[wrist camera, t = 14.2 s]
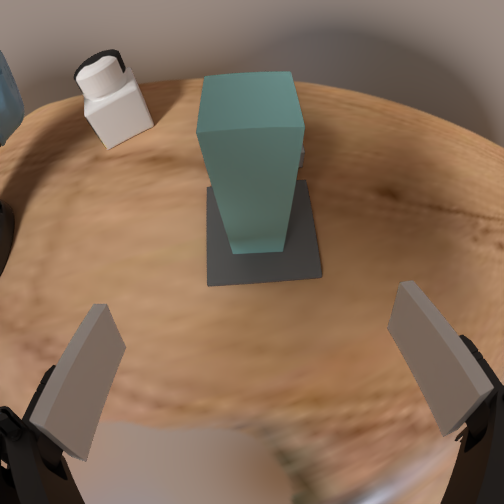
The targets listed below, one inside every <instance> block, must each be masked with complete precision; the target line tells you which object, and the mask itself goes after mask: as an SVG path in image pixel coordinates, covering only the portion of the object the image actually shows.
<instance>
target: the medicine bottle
mask: <svg viewBox="0 0 504 504" xmlns="http://www.w3.org/2000/svg"><path fill="white" fill-rule="evenodd" d="M74 80H75V81H76V83H77V85H78V87H79V88H80V90H81V92H82V94H83V95H84V116H85V118H86V119H87V121H88V122H89V124H90V125H91V127H92V128H93V130H94V131H95V133H96V134H97V136H98V137H99V139H100V140H101V142H102V143H103V145H104V146H105V148H106V149H107V150H109V149H111V148H113V147H115V146H117V145H118V144H120V143H122V142H124V141H126V140H128V139H130V138H132V137H133V136H135V135H137V134H139V133H141V132H143V131H145V130H147V129H150V128H152V127H153V126H154V123H153V120H152V118H151V115H150V113H149V110H148V108H147V105H146V103H145V100H144V98H143V95H142V93H141V91H140V88H139V86H138V83H137V81H136V79H135V76H134V74H133V71H132V69H131V68H130V67H128V68H126V67H125V65H124V63H123V60H122V58H121V55H120V53H119V51H117V50H113V49H112V50H106V51H102V52H99V53H97V54H95V55H93V56H91V57H90V58H88V59H87V60H86V61H84V62H83V63H82V64H81V65H80V66H79V68H78V69H77V70H76V72H75V74H74Z"/></svg>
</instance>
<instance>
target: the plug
mask: <svg viewBox="0 0 504 504" xmlns="http://www.w3.org/2000/svg"><path fill="white" fill-rule="evenodd" d="M304 130H305V125H304V121H303V116H302V112H301V108H300V104H299V100H298V97H297V93H296V89H295V85H294V82H293V78H292V75H291V72H247V73H232V74H221V75H212V76H205V77H204V82H203V88H202V94H201V101H200V108H199V115H198V122H197V130H196V134H197V138H198V141H199V144H200V148H201V151H202V155H203V158H204V161H205V165H206V168H207V171H208V175H209V178H210V181H211V185H212V188H213V191H214V195H215V198H216V201H217V204H218V208H219V211H220V214H221V217H222V221H223V224H224V227H225V230H226V233H227V237H228V240H229V243H230V246H231V249H232V252H233V254H246V253H266V252H283V248H284V243H285V238H286V233H287V227H288V222H289V217H290V212H291V206H292V201H293V195H294V190H295V184H296V178H297V173H298V167H299V161H300V155H301V149H302V143H303V137H304Z"/></svg>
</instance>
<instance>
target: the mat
mask: <svg viewBox="0 0 504 504" xmlns="http://www.w3.org/2000/svg"><path fill="white" fill-rule="evenodd" d="M321 277H322V271H321V264H320V257H319V251H318V244H317V238H316V232H315V226H314V220H313V214H312V209H311V203H310V198H309V193H308V188H307V183H306V180H296V184H295V190H294V195H293V201H292V206H291V212H290V217H289V222H288V227H287V233H286V238H285V243H284V248H283V252H266V253H246V254H233V252H232V249H231V246H230V243H229V240H228V237H227V233H226V230H225V227H224V224H223V221H222V217H221V214H220V211H219V208H218V204H217V201H216V198H215V195H214V191H213V188H212V187H207V285H208V287H209V286H225V285H239V284H253V283H266V282H279V281H291V280H302V279H313V278H321Z"/></svg>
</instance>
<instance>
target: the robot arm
mask: <svg viewBox="0 0 504 504" xmlns="http://www.w3.org/2000/svg"><path fill="white" fill-rule="evenodd" d="M23 118H24V105H23V101H22V98H21V95H20V93H19V90H18V87H17V85H16V82H15V80H14V77H13V75H12V73H11V70H10V68H9V66H8V63H7V61H6V59H5V57H4V55H3V53H2V52H1V51H0V147H1V146H4V145H5V143H6V140H7V139H8V138H9V137H10V136H11V135H12V134H13V132H14V131H15V130H16V129H17V128H18V127H19V126H20V124H21V123H22V121H23ZM13 230H14V216H13V211H12V209H11V207H10V206H9V205H8V204H7V203H5V202H4V201H3V200H1V199H0V274H1V272H2V270H3V268H4V265H5V263H6V260H7V257H8V254H9V251H10V247H11V242H12V237H13ZM387 329H388V330H389V332H390V334H391V336H392V337H393V339H394V341H395V343H396V344H397V346H398V348H399V350H400V351H401V353H402V355H403V357H404V359H405V360H406V362H407V364H408V366H409V368H410V370H411V372H412V373H413V375H414V377H415V379H416V381H417V383H418V385H419V387H420V389H421V391H422V393H423V395H424V397H425V399H426V401H427V403H428V405H429V407H430V409H431V411H432V413H433V416H434V418H435V420H436V422H437V424H438V426H439V429H440V431H441V433H442V435H443V437H444V436H446V435H448V434H450V433H452V432H454V431H456V430H458V429H459V428H460V426H461V425H462V424H463V423H464V422H466V424H467V427H466V428H465V429H464V430H463V431H462V432H461V433H460V434H459V435H458V436H457V437H456V439H455V441H458V440H459V439H460V438H461V437H462V436H463V437H462V439H461V440H460V442H461V445H460V449H459V453H458V456H457V459H456V463H455V466H454V469H453V472H452V475H451V478H450V481H449V484H448V486H447V489H446V491H445V494H444V496H443V499H442V501H441V504H504V386H503V385H502V383H501V382H500V381H499V379H498V378H497V376H496V375H495V373H494V372H493V370H492V369H491V367H490V366H489V364H488V363H487V361H486V360H485V359H483V356H482V354H481V353H480V352H478V349H477V348H476V346H475V345H474V344H473V342H472V341H471V340H469V339H468V338H467V337H465V336H464V335H460V336H458V335H457V333H456V332H455V331H454V329H453V328H452V327H451V325H450V324H449V323H448V322H447V320H446V319H445V318H444V317H443V315H442V314H441V313H440V312H439V310H438V309H437V308H436V307H435V305H434V304H433V303H432V302H431V301H430V300H429V298H428V297H427V296H426V295H425V294H424V292H423V291H422V290H421V289H420V288H419V287H418V286H417V284H416V283H415V282H414V281H413V280H411V281H404V282H400V283H399V287H398V291H397V295H396V299H395V303H394V306H393V310H392V314H391V317H390V320H389V324H388V327H387ZM125 349H126V346H125V344H124V342H123V340H122V337H121V335H120V333H119V331H118V329H117V327H116V324H115V322H114V320H113V317H112V315H111V313H110V310H109V308H108V305H107V304H93V306H92V307H91V309H90V310H89V312H88V314H87V315H86V317H85V318H84V320H83V321H82V323H81V325H80V326H79V328H78V329H77V331H76V333H75V334H74V336H73V337H72V339H71V341H70V343H69V344H68V346H67V348H66V349H65V351H64V353H63V355H62V356H61V358H60V360H59V362H58V363H57V365H53V366H52V367H51V368H50V369H49V370H48V371H47V372H46V373H45V374H44V376H43V378H42V380H41V382H40V383H41V384H39V386H38V388H37V392H35V393H34V395H33V397H32V399H31V401H30V404H29V406H28V408H27V410H26V412H25V414H24V416H23V418H22V420H21V419H20V418H19V417H18V416H17V415H16V414H15V413H14V412H13V411H12V410H11V409H10V408H9V407H6V406H2V407H0V504H85V503H84V501H83V499H82V497H81V495H80V492H79V490H78V488H77V486H76V484H75V482H74V479H73V477H72V475H71V472H70V470H69V467H68V465H67V462H66V460H65V458H64V456H62V452H63V451H65V452H66V453H67V454H68V455H70V456H71V457H74V458H76V459H79V460H82V461H85V462H86V461H87V458H88V454H89V450H90V447H91V444H92V441H93V437H94V434H95V431H96V428H97V425H98V422H99V419H100V416H101V413H102V410H103V407H104V404H105V401H106V398H107V396H108V393H109V390H110V387H111V385H112V382H113V379H114V377H115V374H116V372H117V369H118V366H119V364H120V361H121V359H122V356H123V354H124V352H125ZM1 460H2V461H4V462H5V463H7V469H6V468H4V467H3V466H1Z"/></svg>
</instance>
